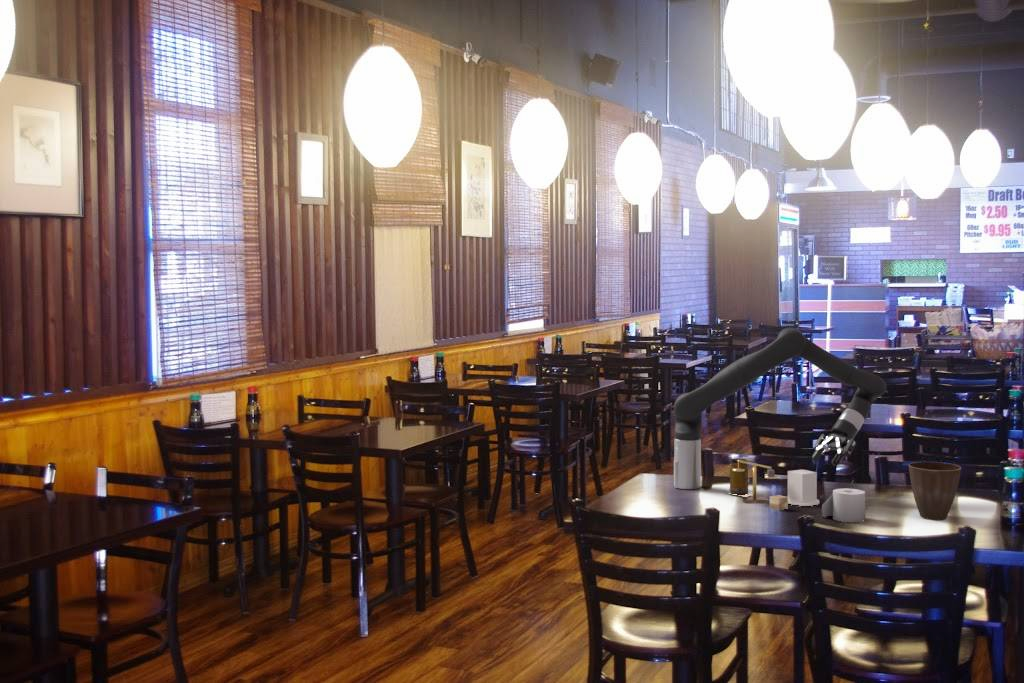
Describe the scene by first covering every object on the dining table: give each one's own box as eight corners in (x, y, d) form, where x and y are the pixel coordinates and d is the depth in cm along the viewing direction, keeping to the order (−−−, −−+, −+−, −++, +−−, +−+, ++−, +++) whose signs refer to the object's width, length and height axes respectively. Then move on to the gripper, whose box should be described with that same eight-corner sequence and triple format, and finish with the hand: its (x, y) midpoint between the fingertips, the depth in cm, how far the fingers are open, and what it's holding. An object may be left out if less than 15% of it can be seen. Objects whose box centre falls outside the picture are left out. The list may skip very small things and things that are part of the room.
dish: (787, 506, 334) (787, 502, 334) (781, 499, 345) (781, 495, 345) (822, 506, 334) (822, 502, 333) (815, 499, 344) (815, 495, 344)
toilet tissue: (815, 517, 319) (816, 489, 319) (855, 515, 321) (856, 487, 321) (829, 524, 310) (829, 495, 310) (870, 522, 312) (871, 493, 312)
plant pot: (968, 517, 317) (969, 465, 316) (947, 525, 307) (948, 472, 306) (920, 509, 328) (921, 459, 327) (899, 517, 318) (899, 465, 317)
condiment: (737, 491, 360) (737, 457, 359) (757, 495, 353) (757, 460, 352) (724, 494, 355) (724, 459, 354) (744, 498, 348) (744, 462, 348)
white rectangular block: (802, 501, 335) (802, 474, 335) (787, 498, 341) (787, 471, 340) (816, 499, 338) (816, 472, 338) (801, 496, 344) (802, 469, 343)
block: (778, 511, 329) (778, 498, 328) (769, 508, 332) (769, 496, 332) (787, 509, 331) (787, 497, 330) (778, 507, 334) (778, 494, 334)
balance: (733, 502, 341) (733, 461, 340) (731, 499, 346) (731, 458, 345) (778, 503, 340) (778, 461, 339) (775, 499, 345) (775, 458, 344)
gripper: (826, 416, 353) (801, 452, 348) (859, 420, 341) (834, 458, 336) (837, 430, 356) (813, 466, 351) (870, 435, 344) (845, 473, 339)
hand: (823, 462), depth 343 cm, fingers open, 8 cm apart
